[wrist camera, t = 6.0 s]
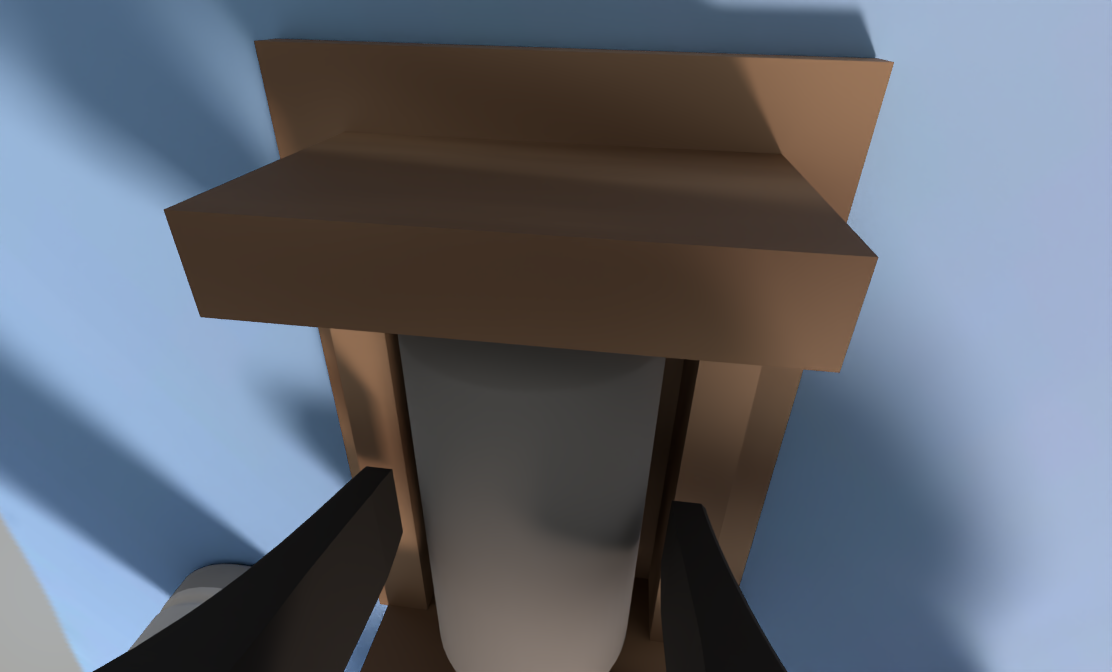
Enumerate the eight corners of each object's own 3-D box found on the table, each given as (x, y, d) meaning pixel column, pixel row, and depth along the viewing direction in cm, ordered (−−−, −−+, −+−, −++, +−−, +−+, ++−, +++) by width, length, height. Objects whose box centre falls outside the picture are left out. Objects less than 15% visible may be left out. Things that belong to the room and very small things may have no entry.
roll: (634, 548, 17) (617, 729, 13) (474, 520, 18) (408, 682, 13) (672, 271, 12) (666, 412, 8) (453, 250, 13) (342, 368, 9)
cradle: (717, 628, 20) (744, 847, 15) (388, 584, 21) (306, 772, 16) (877, 58, 11) (1099, 110, 5) (276, 38, 12) (-3, 65, 7)
